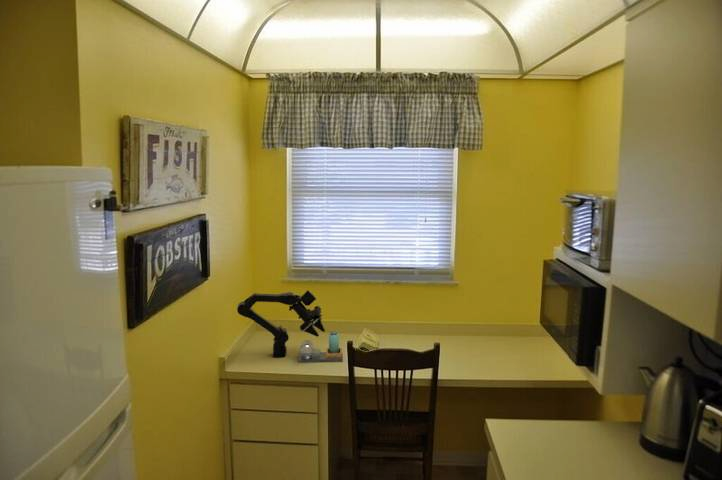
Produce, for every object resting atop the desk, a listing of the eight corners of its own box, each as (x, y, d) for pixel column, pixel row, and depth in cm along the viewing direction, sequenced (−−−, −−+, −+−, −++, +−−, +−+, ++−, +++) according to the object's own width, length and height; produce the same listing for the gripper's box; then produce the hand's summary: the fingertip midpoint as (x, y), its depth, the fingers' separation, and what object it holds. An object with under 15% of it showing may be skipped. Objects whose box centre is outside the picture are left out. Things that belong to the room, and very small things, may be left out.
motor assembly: (298, 362, 267) (298, 346, 266) (299, 355, 278) (299, 339, 277) (342, 361, 268) (342, 346, 267) (342, 354, 279) (342, 339, 278)
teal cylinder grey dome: (328, 356, 271) (328, 334, 269) (329, 353, 276) (328, 331, 274) (338, 356, 271) (338, 334, 269) (338, 353, 276) (338, 331, 274)
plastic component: (377, 348, 282) (360, 340, 282) (371, 359, 284) (355, 351, 284) (378, 334, 302) (362, 327, 301) (372, 344, 303) (357, 337, 303)
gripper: (305, 306, 265) (325, 329, 263) (318, 298, 283) (337, 319, 281) (291, 319, 268) (311, 342, 266) (305, 311, 286) (323, 332, 284)
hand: (321, 333), depth 274 cm, fingers open, 9 cm apart
